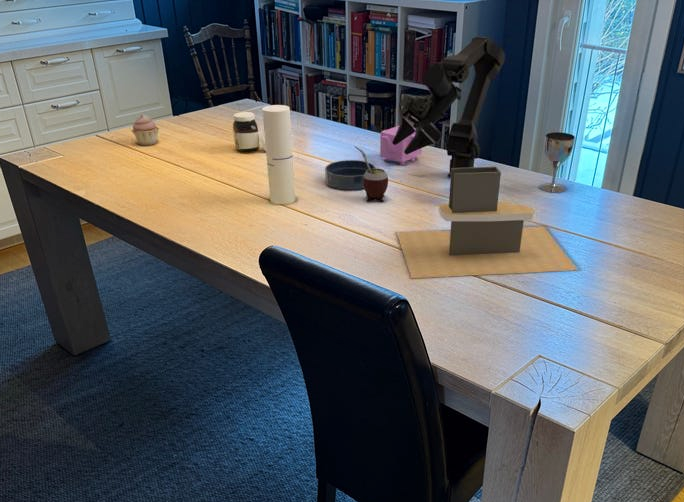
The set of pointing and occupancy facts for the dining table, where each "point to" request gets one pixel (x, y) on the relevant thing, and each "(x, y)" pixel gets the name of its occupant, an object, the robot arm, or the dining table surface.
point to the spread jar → (247, 133)
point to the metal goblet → (557, 155)
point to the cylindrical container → (279, 153)
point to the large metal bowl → (346, 174)
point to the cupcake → (145, 131)
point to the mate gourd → (374, 182)
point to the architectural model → (481, 234)
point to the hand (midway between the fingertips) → (399, 148)
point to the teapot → (396, 147)
